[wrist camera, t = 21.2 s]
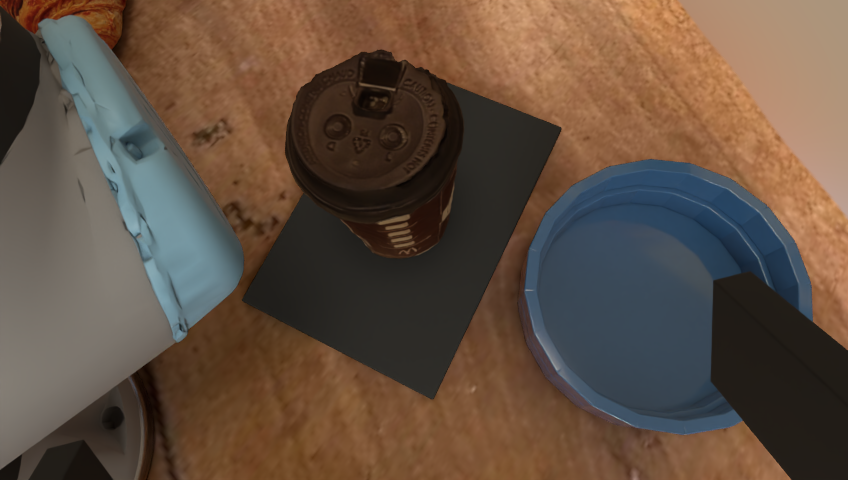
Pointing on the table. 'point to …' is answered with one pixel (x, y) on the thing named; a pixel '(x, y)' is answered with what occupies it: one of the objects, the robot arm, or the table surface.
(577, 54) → the table surface
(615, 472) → the table surface
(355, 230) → the coffee cup
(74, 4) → the croissant
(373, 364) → the mat
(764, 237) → the bowl
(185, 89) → the table surface
